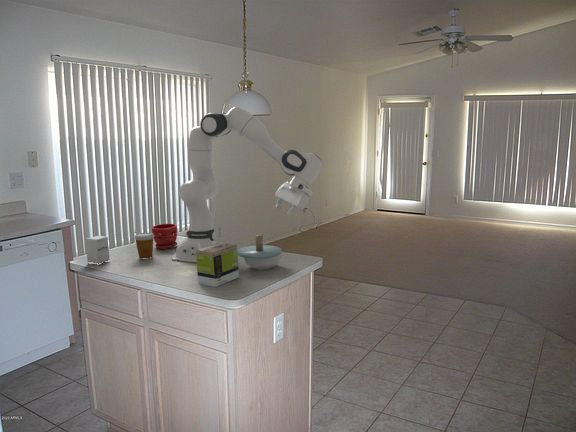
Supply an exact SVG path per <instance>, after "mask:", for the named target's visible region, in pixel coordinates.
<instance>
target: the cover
mask: <svg viewBox="0 0 576 432" xmlns="http://www.w3.org/2000/svg"><path fill="white" fill-rule="evenodd" d="M263 236H264V235H263V234H255V245H250V246H245V247H240V248H239V249H237V253H238V257H241V258H243V259H244V258H256V259H257V258H269V257H274V256H277V255H280V254H281V255H282V252H283V251H282V250H283V249H282V248H281V247H279V246H275V245H268V244H267V245H266V244H264V243H263V241H264V239H263V238H264V237H263Z"/></svg>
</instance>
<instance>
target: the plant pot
mask: <svg viewBox="0 0 576 432" xmlns="http://www.w3.org/2000/svg"><path fill="white" fill-rule="evenodd" d="M151 233H153V235H154V238H153V242H154V243H155V248H157V249H159V248H160V250H168V249H167V248H170V249H172V248H175V247H177V246H178V242H177V239H178V238H177V237H178V226H177V224H176V223H161V224H156V225H153V226H152V227H151Z"/></svg>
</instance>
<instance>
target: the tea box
mask: <svg viewBox="0 0 576 432" xmlns="http://www.w3.org/2000/svg"><path fill="white" fill-rule="evenodd" d="M237 251H238V245H237V244H235V243H227V242H220V241H219V242H217V243H216V242H215V244H213V245H210V246H207V247H204V248H201V249H198V250H196V260H197V262H196V268H197V269H196V270H197V271H196V272H197V283H198V284H199V285H202V286H208V287H213V288H217V287H218V286H221V285H224V284H226V283H228V282H231V281H233V280H236V279H238V278H240V269H239V255H238V253H237Z"/></svg>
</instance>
